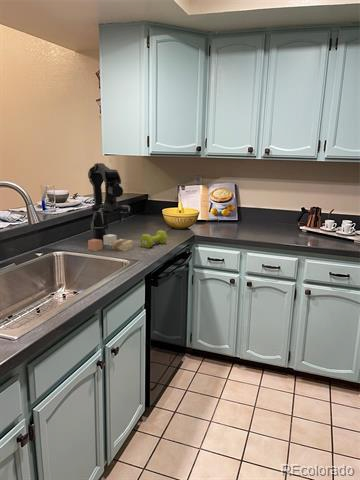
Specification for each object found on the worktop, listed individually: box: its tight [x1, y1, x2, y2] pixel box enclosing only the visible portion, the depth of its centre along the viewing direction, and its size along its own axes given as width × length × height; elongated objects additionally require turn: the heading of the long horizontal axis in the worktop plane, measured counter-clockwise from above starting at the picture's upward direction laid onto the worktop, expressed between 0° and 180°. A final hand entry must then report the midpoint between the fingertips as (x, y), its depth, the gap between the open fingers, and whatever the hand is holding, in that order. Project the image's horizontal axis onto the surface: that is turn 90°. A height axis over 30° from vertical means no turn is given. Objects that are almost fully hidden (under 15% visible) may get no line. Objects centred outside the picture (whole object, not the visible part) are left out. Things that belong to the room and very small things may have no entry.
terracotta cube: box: [87, 238, 103, 252], centre depth 199 cm, size 5×5×5 cm
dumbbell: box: [139, 229, 168, 249], centre depth 211 cm, size 16×8×7 cm, turn 144°
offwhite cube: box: [103, 233, 118, 247], centre depth 211 cm, size 5×5×5 cm
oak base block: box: [111, 238, 134, 252], centre depth 203 cm, size 8×8×4 cm
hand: (111, 224), depth 200 cm, fingers open, 9 cm apart
